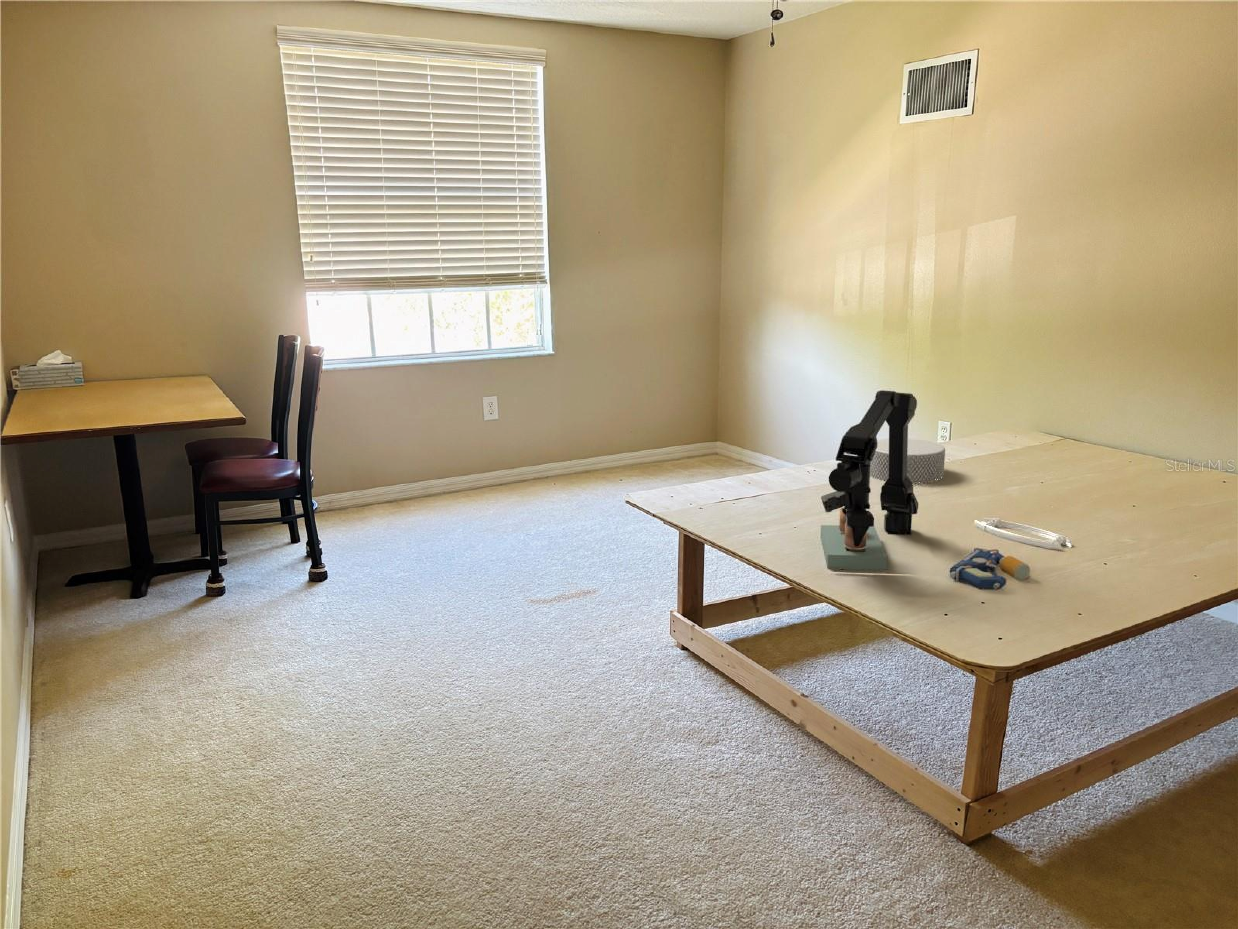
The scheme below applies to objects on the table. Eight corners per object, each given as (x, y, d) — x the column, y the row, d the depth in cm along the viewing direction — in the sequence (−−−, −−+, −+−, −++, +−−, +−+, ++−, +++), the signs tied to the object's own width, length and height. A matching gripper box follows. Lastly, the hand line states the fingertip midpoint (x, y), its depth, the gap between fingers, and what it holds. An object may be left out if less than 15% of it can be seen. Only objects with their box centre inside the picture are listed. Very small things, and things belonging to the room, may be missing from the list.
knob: (882, 462, 306) (856, 477, 287) (883, 435, 304) (857, 449, 285) (952, 471, 292) (930, 488, 272) (954, 442, 289) (931, 457, 270)
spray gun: (1039, 570, 202) (976, 557, 212) (1040, 554, 201) (977, 542, 211) (1007, 599, 187) (941, 584, 197) (1008, 582, 186) (942, 567, 196)
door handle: (989, 523, 238) (1077, 546, 217) (968, 530, 232) (1056, 554, 212) (989, 514, 237) (1078, 536, 217) (968, 521, 232) (1057, 544, 211)
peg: (864, 556, 211) (865, 520, 209) (866, 563, 206) (868, 527, 204) (842, 555, 212) (844, 519, 210) (844, 562, 207) (846, 526, 205)
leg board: (873, 540, 226) (874, 526, 225) (886, 571, 204) (886, 556, 203) (820, 538, 228) (820, 525, 227) (827, 570, 206) (827, 554, 205)
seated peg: (858, 540, 224) (859, 507, 222) (860, 547, 219) (861, 513, 217) (837, 540, 225) (838, 506, 222) (839, 547, 220) (840, 512, 217)
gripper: (821, 472, 215) (819, 529, 218) (826, 492, 197) (824, 554, 201) (865, 472, 213) (863, 530, 217) (875, 493, 195) (872, 556, 199)
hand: (855, 542), depth 208 cm, fingers closed on peg, 5 cm apart
